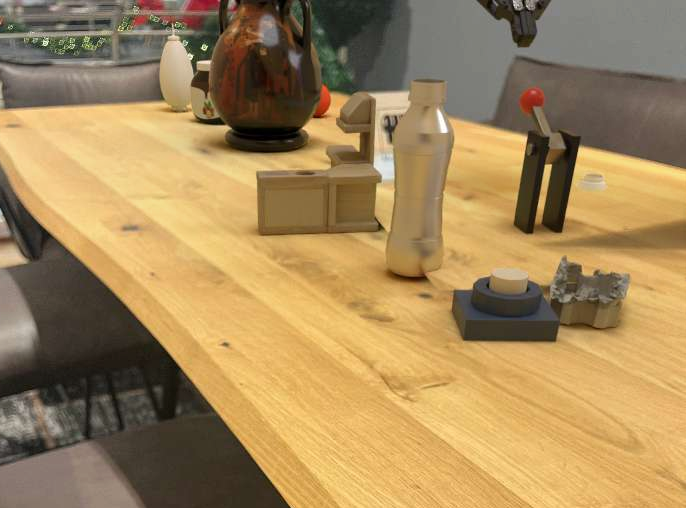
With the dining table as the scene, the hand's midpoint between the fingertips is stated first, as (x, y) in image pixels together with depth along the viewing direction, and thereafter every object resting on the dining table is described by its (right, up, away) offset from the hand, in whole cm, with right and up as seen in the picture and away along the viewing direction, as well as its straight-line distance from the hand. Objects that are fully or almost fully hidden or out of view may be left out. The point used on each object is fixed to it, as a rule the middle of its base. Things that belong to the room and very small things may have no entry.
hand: (526, 42), depth 99 cm
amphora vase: (-37, +10, +51) cm, 64 cm away
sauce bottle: (-60, +33, +83) cm, 107 cm away
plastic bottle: (-16, -33, -10) cm, 38 cm away
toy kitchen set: (-28, -19, +10) cm, 35 cm away
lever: (+1, -12, -1) cm, 13 cm away
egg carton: (+1, -40, -19) cm, 44 cm away
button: (-9, -39, -24) cm, 47 cm away
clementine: (-27, +30, +79) cm, 88 cm away
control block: (-9, -42, -22) cm, 48 cm away
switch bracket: (+2, -25, +2) cm, 25 cm away
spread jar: (-48, +26, +72) cm, 90 cm away
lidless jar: (+16, -12, +21) cm, 29 cm away
